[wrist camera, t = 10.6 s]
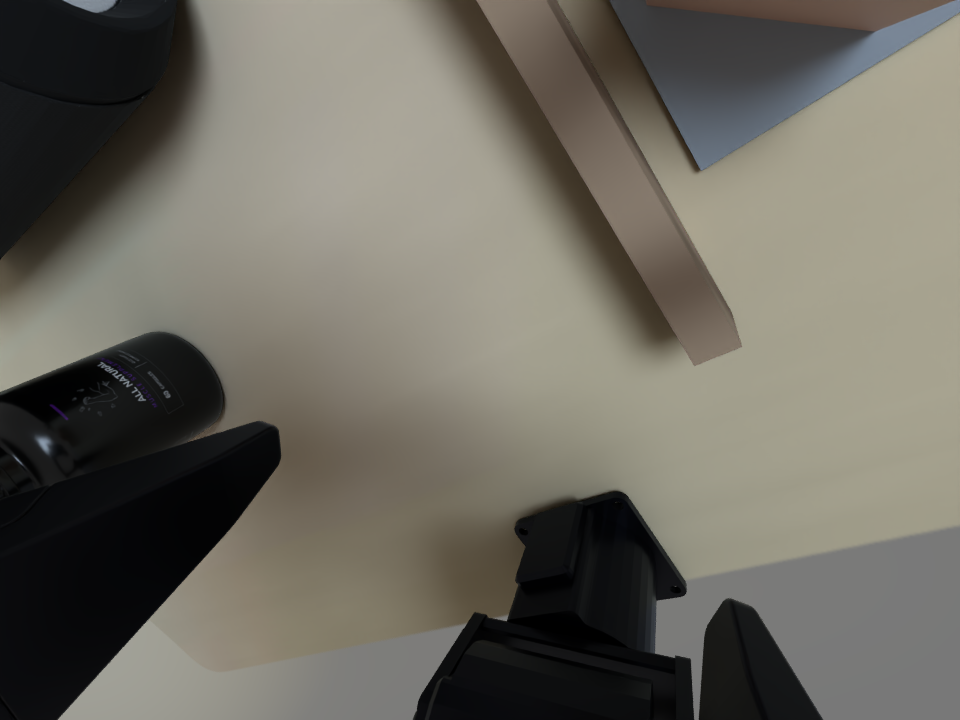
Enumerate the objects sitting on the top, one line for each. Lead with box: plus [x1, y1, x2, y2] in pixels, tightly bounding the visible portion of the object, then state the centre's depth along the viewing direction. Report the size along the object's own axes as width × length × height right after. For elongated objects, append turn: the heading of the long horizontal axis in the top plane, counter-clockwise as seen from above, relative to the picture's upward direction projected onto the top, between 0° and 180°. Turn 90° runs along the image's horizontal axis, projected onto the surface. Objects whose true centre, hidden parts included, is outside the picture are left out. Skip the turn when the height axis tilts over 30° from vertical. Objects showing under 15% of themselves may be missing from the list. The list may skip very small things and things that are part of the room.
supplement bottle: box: [0, 332, 223, 499], centre depth 25 cm, size 7×7×12 cm
